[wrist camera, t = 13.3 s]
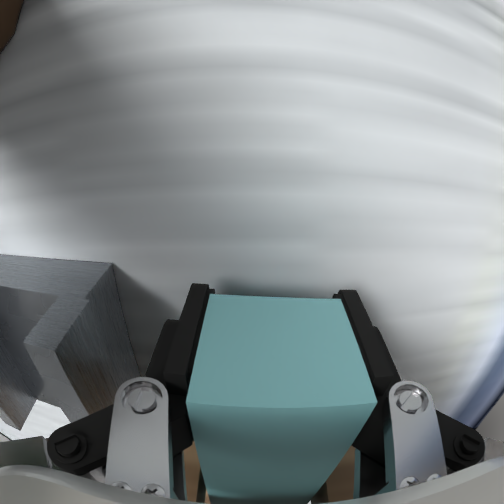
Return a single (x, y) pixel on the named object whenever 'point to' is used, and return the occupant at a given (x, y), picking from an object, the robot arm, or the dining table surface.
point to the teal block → (275, 397)
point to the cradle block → (60, 337)
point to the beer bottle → (8, 19)
